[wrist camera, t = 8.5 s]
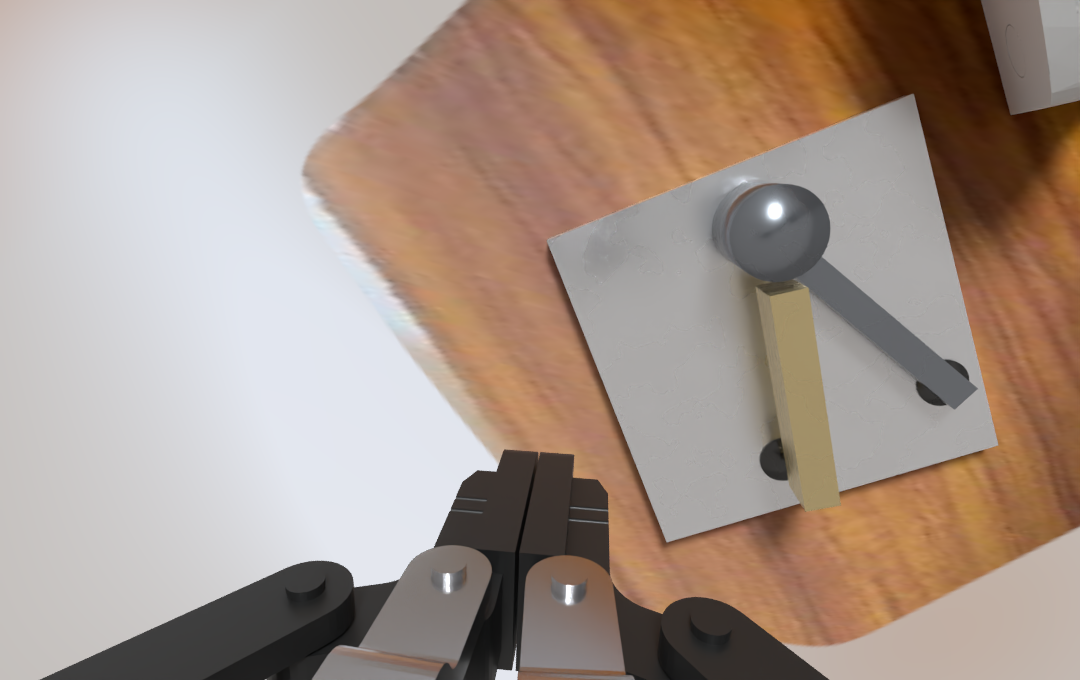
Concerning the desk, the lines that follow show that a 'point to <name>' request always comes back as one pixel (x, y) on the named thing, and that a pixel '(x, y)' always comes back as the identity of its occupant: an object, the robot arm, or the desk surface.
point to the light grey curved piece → (1036, 51)
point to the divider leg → (798, 392)
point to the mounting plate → (736, 330)
